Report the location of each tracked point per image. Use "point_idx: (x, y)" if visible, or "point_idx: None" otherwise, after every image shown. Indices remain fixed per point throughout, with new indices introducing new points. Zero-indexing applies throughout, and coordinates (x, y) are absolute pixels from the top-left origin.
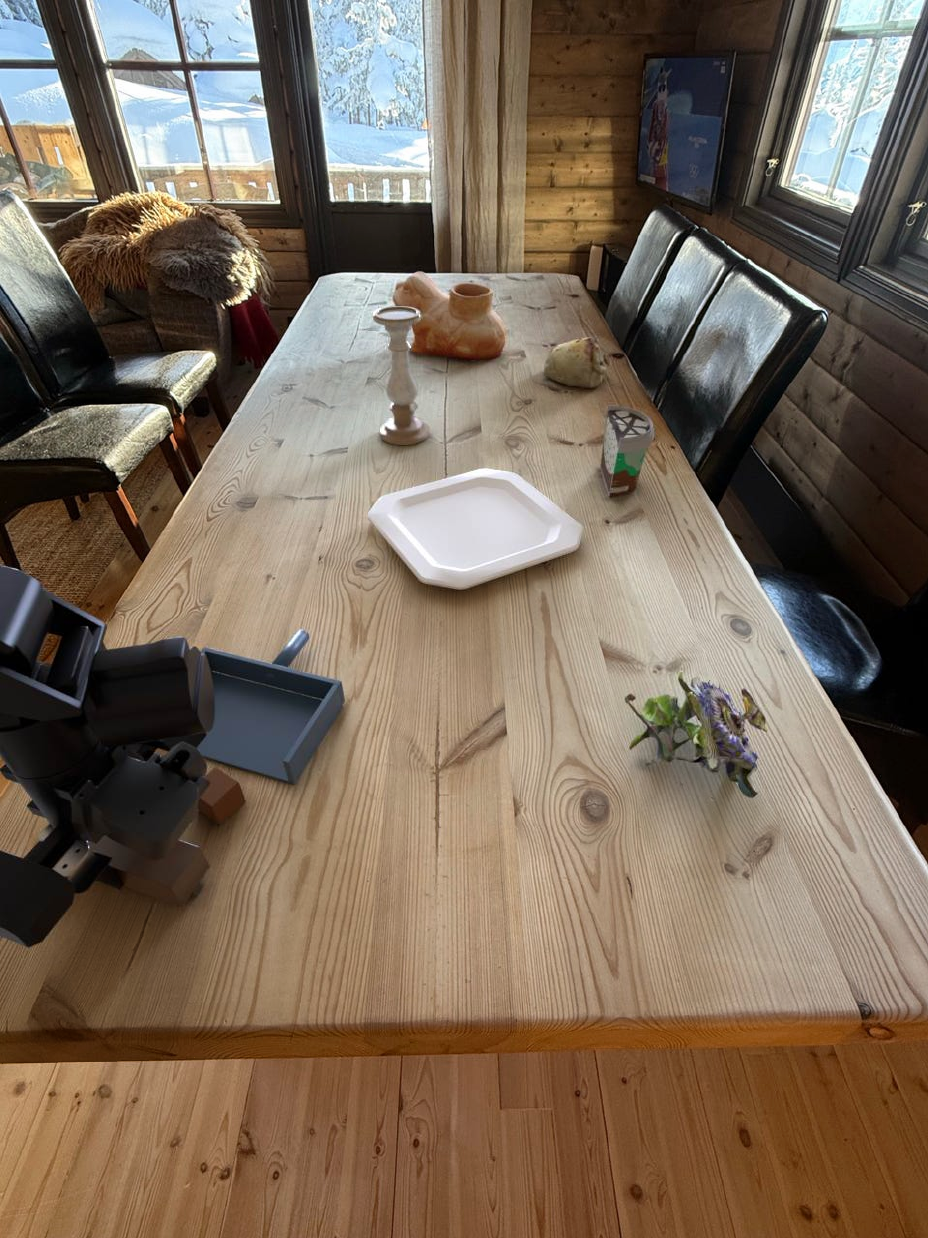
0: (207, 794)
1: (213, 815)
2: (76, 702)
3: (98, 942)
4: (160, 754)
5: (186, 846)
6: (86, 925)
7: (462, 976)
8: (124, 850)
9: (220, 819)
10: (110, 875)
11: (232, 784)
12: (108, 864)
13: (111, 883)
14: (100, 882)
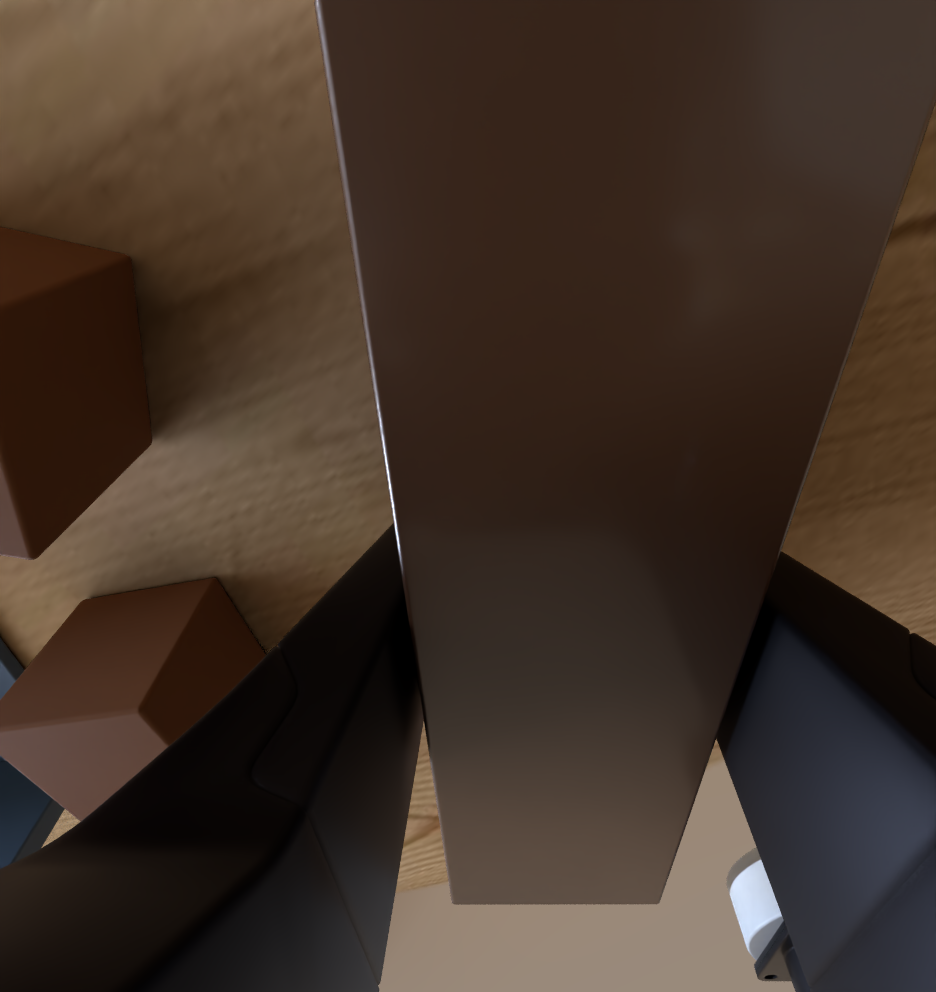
0: None
1: (75, 308)
2: None
3: (904, 425)
4: (30, 777)
5: (391, 197)
6: (821, 518)
7: None
8: (609, 652)
9: (81, 263)
10: (839, 627)
11: None
12: (919, 746)
13: (800, 571)
14: None
